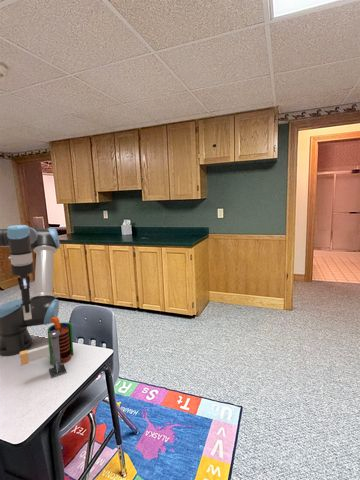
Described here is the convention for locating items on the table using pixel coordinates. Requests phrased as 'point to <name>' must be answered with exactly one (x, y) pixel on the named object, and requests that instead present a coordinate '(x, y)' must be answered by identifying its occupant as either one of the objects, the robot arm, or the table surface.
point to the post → (56, 355)
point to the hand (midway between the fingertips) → (28, 318)
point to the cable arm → (34, 354)
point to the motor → (62, 340)
